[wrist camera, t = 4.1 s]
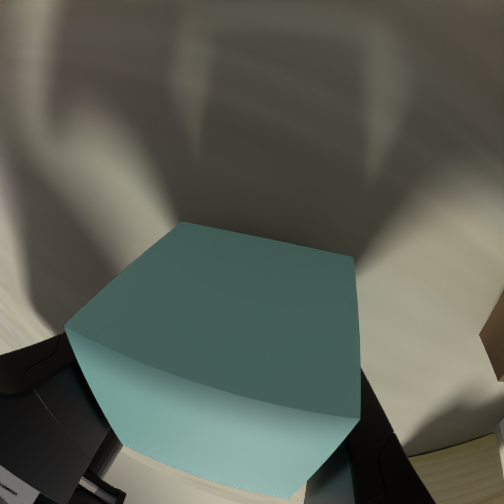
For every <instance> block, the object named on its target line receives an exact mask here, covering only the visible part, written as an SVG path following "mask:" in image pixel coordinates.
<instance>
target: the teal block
mask: <svg viewBox="0 0 504 504" xmlns="http://www.w3.org/2000/svg"><path fill="white" fill-rule="evenodd" d="M63 326H64V329H65V331H66V334H67V336H68V339H69V342H70V344H71V346H72V349H73V351H74V354H75V356H76V358H77V361H78V363H79V365H80V367H81V369H82V372H83V374H84V376H85V378H86V380H87V382H88V384H89V386H90V388H91V390H92V392H93V394H94V396H95V398H96V400H97V402H98V404H99V406H100V407H101V409H102V411H103V413H104V415H105V417H106V418H107V420H108V422H109V423H110V425H111V427H112V429H113V430H114V432H115V434H116V435H117V437H118V438H119V440H120V442H121V443H122V444H123V445H125V446H127V447H129V448H131V449H133V450H135V451H137V452H139V453H141V454H144V455H146V456H148V457H150V458H152V459H155V460H157V461H159V462H162V463H164V464H167V465H169V466H172V467H174V468H177V469H179V470H182V471H185V472H188V473H190V474H193V475H196V476H199V477H202V478H205V479H208V480H211V481H215V482H218V483H221V484H225V485H228V486H232V487H236V488H239V489H243V490H247V491H252V492H256V493H261V494H265V495H270V496H276V497H281V498H287V499H289V498H290V497H291V496H292V495H293V494H294V493H295V492H296V491H297V490H298V489H299V488H300V487H301V486H302V485H303V484H304V483H305V482H306V481H307V480H308V479H309V478H310V477H311V476H312V475H313V474H314V473H315V472H316V471H317V470H318V469H319V468H320V467H321V465H322V464H323V463H324V462H325V461H326V460H327V459H328V458H329V457H330V455H331V454H332V453H333V452H334V451H335V450H336V449H337V447H338V446H339V445H340V444H341V443H342V441H343V440H344V439H345V438H346V437H347V435H348V434H349V433H350V432H351V430H352V429H353V428H354V427H355V425H356V424H357V423H358V421H359V420H360V409H361V365H360V335H359V317H358V303H357V290H356V279H355V269H354V260H353V257H351V256H347V255H342V254H337V253H333V252H328V251H324V250H319V249H314V248H310V247H305V246H300V245H295V244H291V243H286V242H281V241H276V240H272V239H267V238H262V237H257V236H252V235H247V234H242V233H237V232H232V231H227V230H222V229H217V228H212V227H207V226H202V225H197V224H192V223H187V222H181V223H180V224H178V225H177V226H176V227H175V228H173V229H172V230H171V231H170V232H168V233H167V234H166V235H165V236H164V237H162V238H161V239H160V240H159V241H157V242H156V243H155V244H154V245H153V246H151V247H150V248H149V249H148V250H147V251H145V252H144V253H143V254H142V255H141V256H140V257H138V258H137V259H136V260H135V261H134V262H133V263H131V264H130V265H129V266H128V267H127V268H126V269H124V270H123V271H122V272H121V273H120V274H119V275H118V276H116V277H115V278H114V279H113V280H112V281H111V282H110V283H109V284H107V285H106V286H105V287H104V288H103V289H102V290H101V291H100V292H99V293H97V294H96V295H95V296H94V297H93V298H92V299H91V300H90V301H89V302H88V303H87V304H85V305H84V306H83V307H82V308H81V309H80V310H79V311H78V312H77V313H76V314H75V315H74V316H73V317H72V318H71V319H70V320H69V321H68V322H67V323H65V324H64V325H63Z"/></svg>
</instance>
